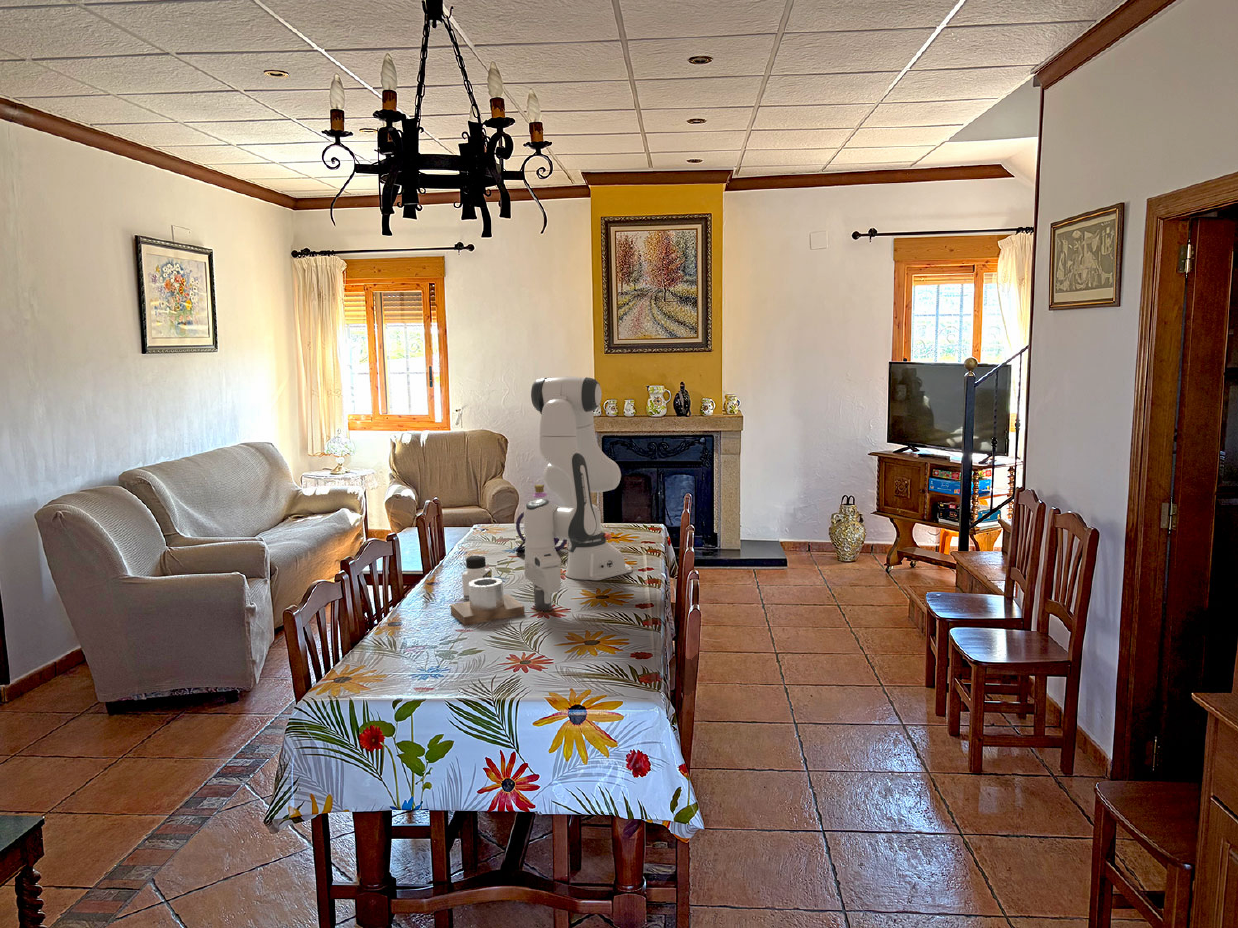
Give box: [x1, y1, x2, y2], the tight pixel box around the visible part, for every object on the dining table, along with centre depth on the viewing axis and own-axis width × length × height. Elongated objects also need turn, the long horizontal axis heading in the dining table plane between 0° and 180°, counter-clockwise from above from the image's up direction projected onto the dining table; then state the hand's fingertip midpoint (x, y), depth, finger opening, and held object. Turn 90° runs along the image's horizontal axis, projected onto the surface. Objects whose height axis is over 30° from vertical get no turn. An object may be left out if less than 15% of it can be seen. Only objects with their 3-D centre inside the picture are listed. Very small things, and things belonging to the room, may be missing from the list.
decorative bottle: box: [515, 484, 567, 553], centre depth 331 cm, size 22×21×25 cm
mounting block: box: [450, 594, 526, 627], centre depth 259 cm, size 18×14×2 cm
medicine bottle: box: [461, 554, 492, 597], centre depth 280 cm, size 7×7×12 cm
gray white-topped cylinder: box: [533, 586, 553, 611], centre depth 262 cm, size 5×5×6 cm
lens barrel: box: [468, 577, 504, 611], centre depth 259 cm, size 10×10×7 cm
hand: (542, 600), depth 263 cm, fingers closed on gray white-topped cylinder, 5 cm apart
